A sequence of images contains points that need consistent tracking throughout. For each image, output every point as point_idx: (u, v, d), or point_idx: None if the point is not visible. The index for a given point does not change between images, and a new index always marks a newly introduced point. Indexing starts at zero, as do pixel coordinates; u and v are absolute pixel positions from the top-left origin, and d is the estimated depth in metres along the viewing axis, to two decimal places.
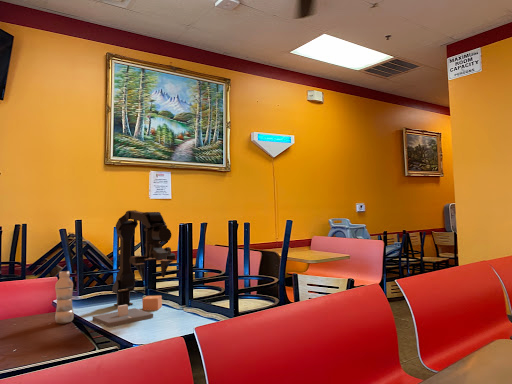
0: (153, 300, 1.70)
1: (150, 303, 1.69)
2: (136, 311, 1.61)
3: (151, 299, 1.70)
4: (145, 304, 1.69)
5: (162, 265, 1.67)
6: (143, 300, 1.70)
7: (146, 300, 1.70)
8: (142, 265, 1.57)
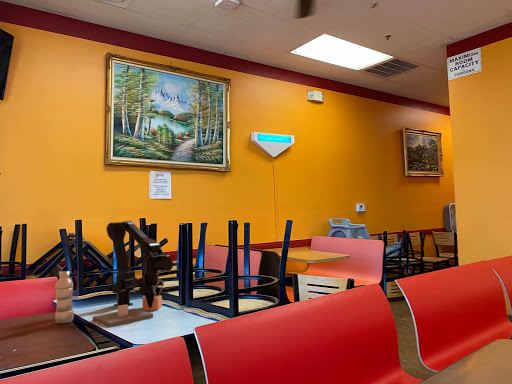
0: None
1: None
2: (136, 311, 1.61)
3: None
4: (145, 304, 1.69)
5: None
6: (143, 300, 1.70)
7: (146, 300, 1.70)
8: None
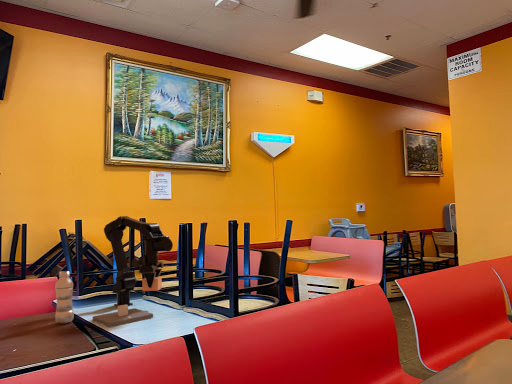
0: (153, 281, 1.70)
1: None
2: (136, 311, 1.61)
3: None
4: (145, 285, 1.70)
5: None
6: (143, 281, 1.70)
7: (146, 280, 1.70)
8: None
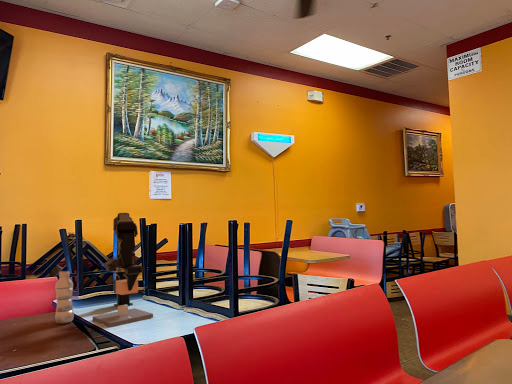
0: None
1: None
2: (136, 311, 1.61)
3: None
4: (124, 287, 1.55)
5: None
6: (122, 283, 1.54)
7: (126, 283, 1.55)
8: (115, 273, 1.61)
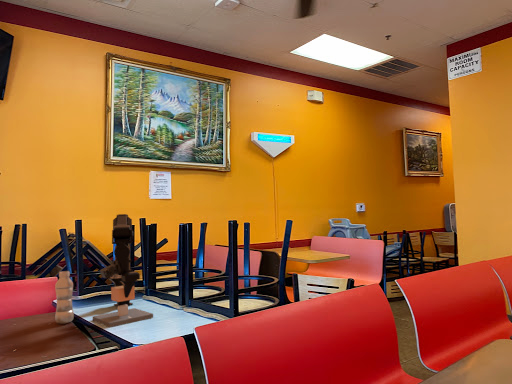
0: None
1: None
2: (136, 311, 1.61)
3: None
4: (121, 294, 1.53)
5: None
6: (119, 290, 1.52)
7: (122, 289, 1.53)
8: (111, 280, 1.59)
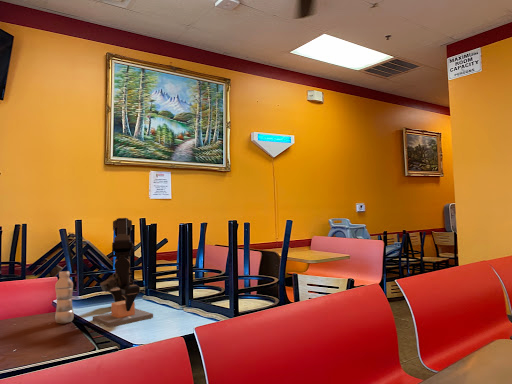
0: None
1: None
2: (136, 311, 1.61)
3: None
4: (121, 310, 1.52)
5: None
6: (119, 306, 1.52)
7: (122, 305, 1.53)
8: (109, 292, 1.59)
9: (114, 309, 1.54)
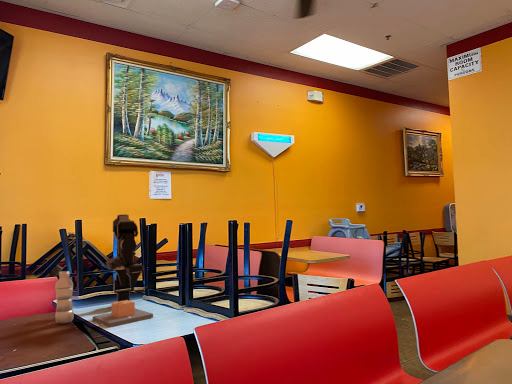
0: (130, 304, 1.55)
1: (127, 308, 1.54)
2: (136, 311, 1.61)
3: (127, 304, 1.54)
4: (121, 310, 1.52)
5: None
6: (119, 306, 1.52)
7: (122, 305, 1.53)
8: None
9: (114, 309, 1.54)
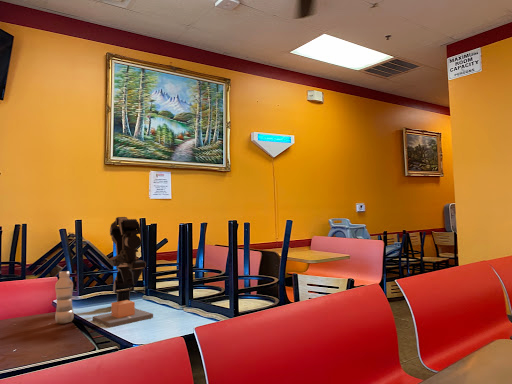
0: (130, 304, 1.55)
1: (127, 308, 1.54)
2: (136, 311, 1.61)
3: (127, 304, 1.54)
4: (121, 310, 1.52)
5: None
6: (119, 306, 1.52)
7: (122, 305, 1.53)
8: (117, 268, 1.72)
9: (114, 309, 1.54)
